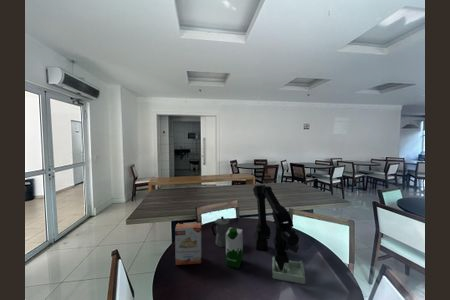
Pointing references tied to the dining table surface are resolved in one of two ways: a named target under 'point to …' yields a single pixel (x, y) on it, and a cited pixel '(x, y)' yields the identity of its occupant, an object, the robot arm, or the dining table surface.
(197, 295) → the dining table surface
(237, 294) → the dining table surface
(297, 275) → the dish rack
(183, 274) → the dining table surface
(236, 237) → the milk carton
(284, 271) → the jar
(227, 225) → the coffeepot
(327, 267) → the dining table surface
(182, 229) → the cracker box
